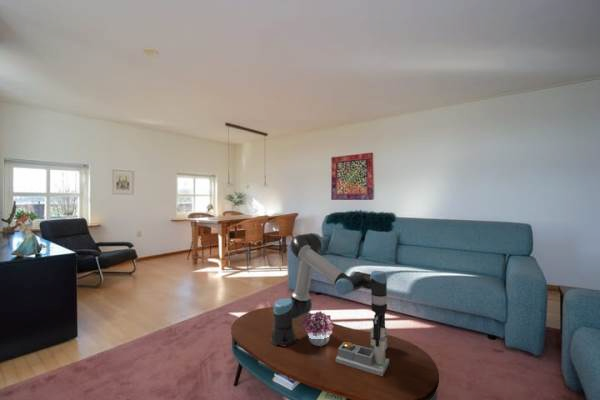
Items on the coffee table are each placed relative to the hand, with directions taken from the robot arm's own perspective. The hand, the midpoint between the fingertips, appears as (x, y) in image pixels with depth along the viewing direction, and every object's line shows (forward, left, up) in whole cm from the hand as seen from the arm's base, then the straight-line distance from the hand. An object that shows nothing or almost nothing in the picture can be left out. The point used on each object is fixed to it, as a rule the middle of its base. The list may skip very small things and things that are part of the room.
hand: (379, 349), depth 142 cm
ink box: (-5, +18, -9) cm, 21 cm away
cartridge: (0, 0, -6) cm, 6 cm away
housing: (-9, 0, -9) cm, 13 cm away
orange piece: (-16, 0, -7) cm, 18 cm away
